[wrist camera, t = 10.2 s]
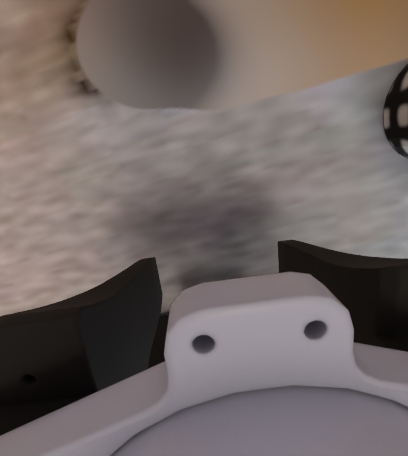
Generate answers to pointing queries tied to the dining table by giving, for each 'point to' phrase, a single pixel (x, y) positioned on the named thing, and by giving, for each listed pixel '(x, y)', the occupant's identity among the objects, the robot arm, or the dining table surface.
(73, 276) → the dining table surface
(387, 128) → the spotted tube
